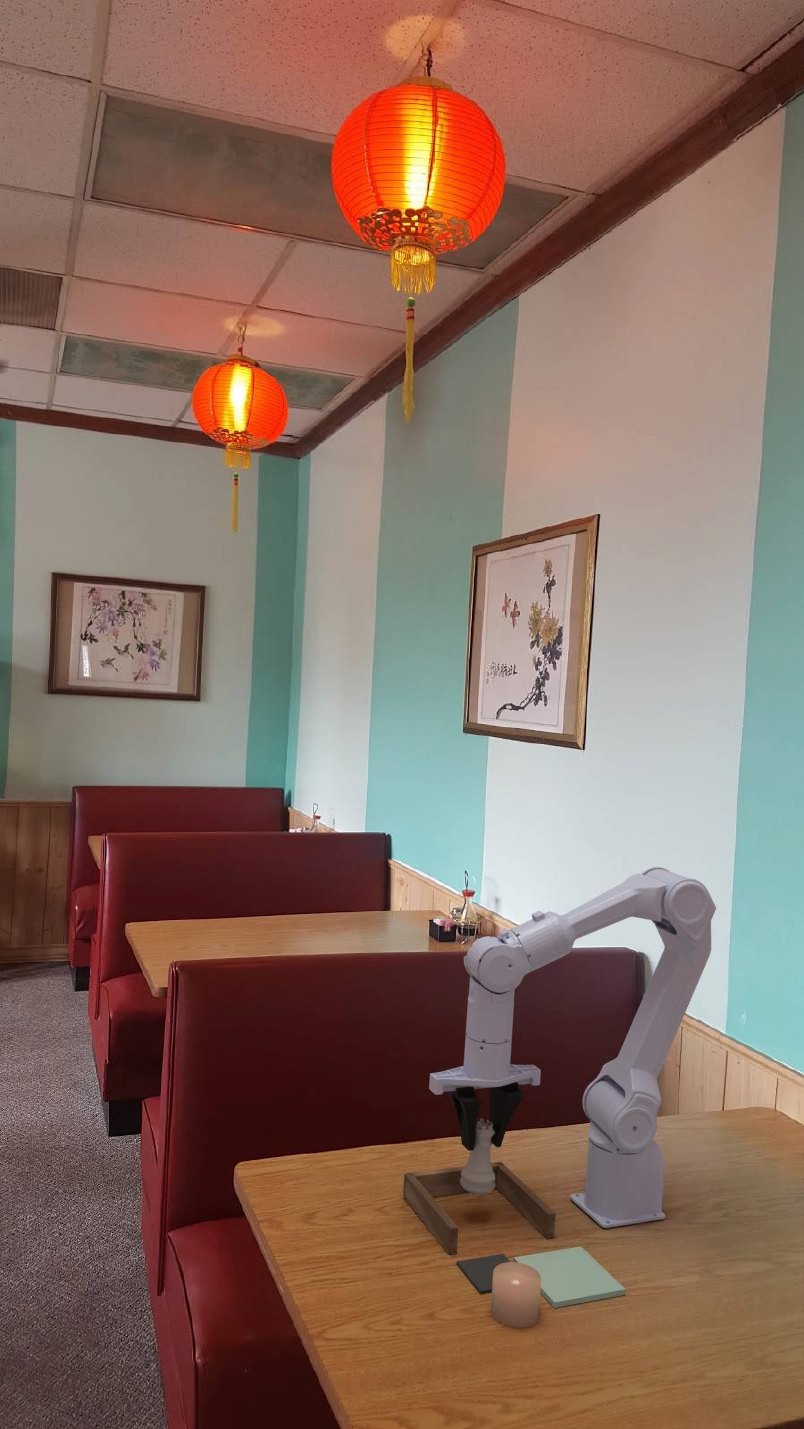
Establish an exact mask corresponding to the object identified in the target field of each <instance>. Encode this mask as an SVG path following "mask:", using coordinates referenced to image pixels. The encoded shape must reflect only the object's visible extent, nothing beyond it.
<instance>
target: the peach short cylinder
mask: <svg viewBox="0 0 804 1429" xmlns="http://www.w3.org/2000/svg"><path fill="white" fill-rule="evenodd" d="M540 1288H541V1276H540V1274H539V1272H538V1271H537V1270H535V1269H534V1268H532V1267H531V1266H528V1265H526V1264H522V1263H517V1262H513V1261H510V1262H506V1263H502V1264H500V1265H498V1266H496V1267H495V1269H494V1271H493V1283H492V1292H491V1300H490V1302H491V1303H490V1314H491V1316H492V1317H493V1318H494V1319H495V1320H496V1321H497V1322H498V1323H500V1322H501V1323H500V1324H502V1323H503V1324H502V1325H505V1326H507V1327H511V1328H517V1329H518V1328H529V1327H530V1326H534V1325H535V1324H537V1322H538V1321H539V1316H540V1314H539V1313H540V1301H541V1293H540Z"/></svg>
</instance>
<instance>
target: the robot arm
mask: <svg viewBox="0 0 804 1429" xmlns="http://www.w3.org/2000/svg"><path fill="white" fill-rule="evenodd" d="M713 900H714V899H713V898H712V896H711V894H710V892H709V890H708V888H707V886H706V885H705V884H704V883H703V882H701V881H700V880H697V879H696V878H692V877H686V876H683V875H681V874H678V873H674V872H671V871H670V870H668V869H666V868H664V867H662V866H661V867H660V866H652V867H649V868H647V869H645V870H644V871H642V872H641V873H639V872H638V873H634V874H632V875H630V876H628V878H626V879H625V880H624V881H623V882H621V883H619V884H618V885H616V886H614V887H612V888H611V889H608V890H606V891H605V892H603V893H601V894H599V895H598V896H596V897H593V898H592V899H590V900H589V901H588V900H587V902H585V903H583V904H581V905H579V906H577V907H575V908H574V909H572V910H569V911H568V912H566V913H564V914H562V915H561V914H558V913H557V912H553V911H550V910H549V911H547V912H543V911H541V910H538V911H536V912H533V913H531V918H532V919H529V920H527V921H525V922H523V923H521V924H519V925H516V926H514V927H513V928H510V929H506V928H503V929H501V930H498V937H496V936H490V935H489V936H487V935H486V936H482V937H480V938H478V939H475V941H473V943H472V944H471V945H472V946H470V947H469V948H468V951H467V952H466V955H465V956H463V964H464V968H465V970H466V972H467V973H468V974H469V976H470V977H469V989H468V996H467V1007H466V1008H467V1012H466V1024H465V1025H466V1026H465V1038H464V1039H465V1041H464V1056H463V1065H462V1066H457V1067H455V1068H451V1069H448V1070H443V1071H439V1072H433V1073H429V1083H428V1084H429V1086H428V1089H429V1091H431V1092H432V1093H433V1094H434V1095H435V1096H436V1095H437V1096H438V1095H443V1094H444V1093H445V1092H447V1094H448V1095H449V1098H450V1100H451V1103H452V1105H453V1108H454V1111H455V1115H456V1119H457V1122H458V1128H459V1132H460V1133H459V1135H460V1140H461V1141H460V1142H461V1145H462V1146H463V1147H464V1148H465V1149H466V1150H467V1151H470V1150H474V1146H475V1136H476V1123H477V1119H478V1117H479V1114H480V1113H479V1112H480V1109H481V1107H482V1103H483V1102H482V1101H481V1099H479V1098H478V1097H477V1093H476V1091H475V1090H477V1089H486V1088H488V1097H489V1118H488V1120H489V1121H491V1123H493V1128H494V1130H495V1134H494V1135H493V1136H492V1137H491V1142H492V1146H495V1147H496V1148H501V1147H502V1145H503V1141H504V1138H505V1134H506V1131H507V1130H508V1126H509V1124H510V1122H511V1120H512V1117H513V1116H514V1113H516V1112H515V1111H516V1110H517V1109H518V1107H519V1106H520V1105H521V1104H522V1101H523V1100H524V1099H523V1098H524V1092H523V1091H522V1090H521V1089H520V1088H519V1086H520V1085H531V1086H540V1084H541V1073H542V1071H541V1069H540V1068H539V1067H537V1066H536V1065H534V1064H525V1065H524V1064H511V1056H512V1042H513V1041H512V1039H513V1025H514V1024H513V1023H514V1009H515V1008H514V1007H515V1002H514V1001H515V989H517V988H518V986H520V984H521V982H522V981H523V979H524V977H525V975H527V974H530V973H531V972H534V971H535V970H538V969H540V968H543V967H544V966H546V965H548V964H550V963H552V962H554V961H556V960H559V959H561V958H563V957H564V956H567V955H569V954H570V953H571V951H572V949H573V946H574V943H575V942H576V940H578V939H581V938H583V937H585V936H588V935H590V934H592V933H594V932H597V931H600V930H602V929H604V928H607V927H609V926H612V925H615V924H616V923H619V922H623V921H624V920H626V919H629V918H638V919H643V920H649V921H651V922H652V923H653V924H654V926H655V928H656V930H657V932H658V935H659V936H660V938H661V941H662V944H663V945H664V949H663V951H662V953H661V955H660V957H659V960H658V963H657V964H656V966H655V970H654V972H653V973H652V976H651V978H650V981H649V983H648V986H647V988H646V990H645V992H644V995H643V997H642V999H641V1002H640V1004H639V1006H638V1009H637V1011H636V1014H635V1016H634V1018H633V1020H632V1022H631V1025H630V1028H629V1030H628V1033H627V1034H626V1037H625V1039H624V1041H623V1044H622V1046H621V1049H620V1051H619V1053H618V1055H617V1057H616V1058H614V1059H612V1060H610V1061H608V1062H607V1063H604V1064H603V1066H602V1068H601V1069H600V1072H599V1073H598V1075H597V1077H596V1078H595V1079H593V1081H592V1082H590V1083H589V1084H588V1085H587V1087H586V1088H585V1090H584V1092H583V1096H582V1100H581V1101H582V1109H583V1111H584V1114H585V1115H586V1117H587V1118H588V1119H589V1130H588V1135H587V1136H588V1139H587V1149H586V1150H587V1151H586V1165H585V1181H584V1183H585V1184H584V1192H579V1193H573V1194H571V1195H570V1196H569V1198H570V1200H571V1201H572V1202H573V1203H575V1204H576V1206H577V1207H578V1208H580V1209H581V1210H582V1211H583V1212H584V1213H585V1214H587V1215H588V1216H589V1217H590V1218H591V1219H593V1220H594V1221H595V1222H596V1223H597V1224H598V1225H599V1226H600V1227H601V1228H604V1229H608V1228H613V1227H620V1226H627V1225H633V1224H634V1225H635V1224H640V1223H641V1224H642V1223H646V1222H647V1223H648V1222H651V1221H658V1220H664V1219H665V1218H666V1214H665V1213H664V1212H663V1211H662V1210H663V1194H664V1182H665V1181H664V1180H665V1160H664V1156H663V1152H662V1150H661V1148H660V1145H659V1144H658V1143H657V1142H656V1141H655V1136H656V1133H657V1128H658V1122H657V1121H658V1118H657V1117H658V1112H659V1109H660V1108H661V1104H662V1097H661V1092H660V1088H659V1084H658V1077H659V1076H660V1073H661V1070H662V1068H663V1066H664V1064H665V1060H666V1058H667V1056H668V1055H669V1051H670V1049H671V1047H672V1044H673V1042H674V1040H675V1038H676V1035H677V1032H678V1030H679V1028H680V1026H681V1023H682V1021H683V1019H684V1017H685V1014H686V1011H687V1009H688V1008H689V1005H690V1002H691V1000H692V997H693V995H694V993H695V990H696V988H697V986H698V984H699V982H700V980H701V977H702V974H703V972H704V969H705V968H706V965H707V962H708V960H709V958H710V955H711V953H712V952H711V951H712V919H713V917H714V915H715V912H716V910H717V906H716V904H715V902H714V901H713Z"/></svg>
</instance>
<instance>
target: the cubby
mask: <svg viewBox="0 0 804 1429" xmlns="http://www.w3.org/2000/svg"><path fill="white" fill-rule="evenodd" d="M491 1166H492V1168H493V1170H492V1171H493V1172H494V1174H495V1180H494V1183H495V1188H494V1189H493V1190H497V1191H498V1192H499V1193H500V1194H501V1195H502V1196H503V1197H504V1198H505V1199H506V1200H507V1201H508V1202H509V1203H510V1204H511V1205H514V1206H513V1207H514V1208H515V1209H516V1211H518V1212H519V1213H520V1214H521V1215H522V1216H523V1217H524V1218H525V1219H526V1220H527V1221H528V1222H529V1223H530V1224H531V1225H532V1226H533V1227H534V1228H535V1229H536V1230H537V1231H538V1232H539V1233H540V1234H541V1235H542V1236H543V1237H544V1238H545V1239H546V1240H550V1239H555V1230H556V1217H557V1215H556V1214H557V1212H555V1211H554V1210H553V1209H552V1208H551V1207H550V1206H549V1205H548V1204H547V1203H546V1202H545V1201H543V1199H541V1198H540V1197H539V1196H538V1195H537V1194H536V1193H535V1192H534V1191H533V1190H532V1189H531V1188H530V1187H529V1186H528V1185H527V1184H526V1183H524V1182H523V1181H522V1180H521V1179H520V1178H519V1177H518V1176H517V1175H516V1174H515V1173H514V1172H513V1171H511V1169H510V1168H508V1167H507V1166H506V1165H505V1164H504V1163H503V1162H502V1161H496V1162H491ZM464 1167H465V1165H463V1166H456V1167H448V1168H440V1169H432V1170H431V1169H430V1170H423V1171H415V1172H408V1173H407V1172H406V1173H404V1174H403V1175H404V1176H403V1189H402V1197H403V1196H404V1198H405V1199H406V1200H405V1199H404V1198H403V1199H404V1200H405V1201H407V1202H408V1203H409V1204H410V1205H409V1204H408V1203H407V1202H406V1203H407V1204H408V1205H409V1207H410V1206H411V1207H412V1208H413V1209H412V1208H411V1207H410V1208H411V1209H412V1211H413V1212H414V1211H415V1212H416V1213H417V1214H418V1215H417V1214H416V1213H415V1212H414V1213H415V1214H416V1215H417V1216H419V1217H418V1218H419V1220H421V1222H422V1221H423V1222H422V1223H423V1224H424V1225H425V1227H426V1228H427V1229H428V1230H429V1232H430V1233H431V1234H432V1235H433V1237H434V1238H435V1239H436V1240H437V1241H438V1243H439V1245H441V1247H442V1248H443V1249H444V1250H445V1252H446V1253H447V1254H448V1255H456V1254H457V1253H458V1243H459V1242H458V1241H459V1226H458V1225H457V1224H456V1223H455V1222H454V1220H453V1219H452V1218H451V1216H449V1214H447V1212H446V1211H445V1210H444V1209H443V1207H442V1206H441V1205H440V1204H439V1203H438V1202H437V1201H436V1199H435V1196H437V1197H444V1196H450V1195H458V1194H465V1193H469V1192H468V1191H466V1190H465V1189H464V1188H463V1187H462V1186H461V1184H460V1179H461V1178H462V1176H461V1172H462V1170H463V1168H464ZM433 1196H434V1197H433Z"/></svg>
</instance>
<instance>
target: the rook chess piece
mask: <svg viewBox="0 0 804 1429" xmlns="http://www.w3.org/2000/svg"><path fill="white" fill-rule="evenodd" d="M494 1134H495V1130H494V1128H493V1123H491V1121H489V1119H487V1120H486V1122H485V1118H480V1119H478V1118H477V1123H476V1136H475V1146H474V1150H470V1152H469V1156H468V1159H467V1161H466V1163H465V1164H464V1166H465V1167H464V1168H463V1170H462V1172H461V1176H462V1178H461V1179H460V1184H461V1186H462V1187H463V1188H464V1189H465V1190H466V1191H468V1192H467V1193H471V1194H475V1195H486V1194H487V1195H488V1194H489V1193H492V1191H494V1190H495V1189H494V1188H495V1183H494V1180H495V1174H494V1172H493V1171H492V1170H493V1168H492V1166H491V1163H492V1162H491V1148H492V1146H493V1144H492V1142H491V1137H492V1136H493V1135H494Z"/></svg>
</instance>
